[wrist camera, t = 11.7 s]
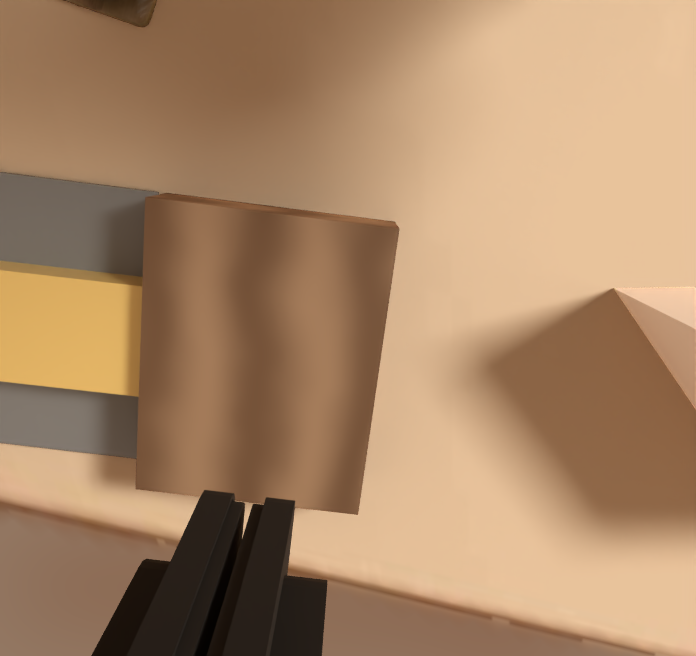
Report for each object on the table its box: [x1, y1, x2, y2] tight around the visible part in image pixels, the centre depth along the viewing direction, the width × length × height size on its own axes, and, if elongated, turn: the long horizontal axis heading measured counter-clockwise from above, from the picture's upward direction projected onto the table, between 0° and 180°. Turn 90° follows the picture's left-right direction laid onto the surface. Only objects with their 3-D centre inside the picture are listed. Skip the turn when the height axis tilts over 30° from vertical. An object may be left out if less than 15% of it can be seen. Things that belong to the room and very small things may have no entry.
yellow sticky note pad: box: [0, 261, 143, 397], centre depth 38 cm, size 10×7×2 cm
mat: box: [0, 172, 159, 459], centre depth 39 cm, size 12×18×1 cm, turn 173°
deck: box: [136, 193, 399, 515], centre depth 38 cm, size 14×18×4 cm
